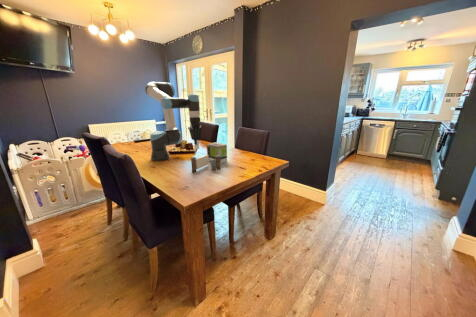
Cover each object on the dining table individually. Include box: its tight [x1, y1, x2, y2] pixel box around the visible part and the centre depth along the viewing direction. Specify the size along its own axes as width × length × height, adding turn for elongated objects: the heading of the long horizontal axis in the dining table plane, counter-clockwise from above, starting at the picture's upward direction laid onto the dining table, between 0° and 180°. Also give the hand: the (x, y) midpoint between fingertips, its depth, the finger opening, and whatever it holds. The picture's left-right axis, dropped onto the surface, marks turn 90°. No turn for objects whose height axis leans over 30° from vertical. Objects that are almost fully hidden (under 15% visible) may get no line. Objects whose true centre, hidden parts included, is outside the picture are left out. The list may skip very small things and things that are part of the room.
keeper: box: [210, 159, 217, 171], centre depth 140 cm, size 1×3×8 cm, turn 113°
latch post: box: [215, 155, 222, 170], centre depth 143 cm, size 3×3×10 cm
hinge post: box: [190, 156, 197, 174], centre depth 136 cm, size 4×4×11 cm
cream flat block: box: [196, 154, 210, 170], centre depth 144 cm, size 14×2×8 cm, turn 151°
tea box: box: [206, 141, 228, 164], centre depth 160 cm, size 15×10×15 cm, turn 45°
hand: (197, 148), depth 145 cm, fingers closed
